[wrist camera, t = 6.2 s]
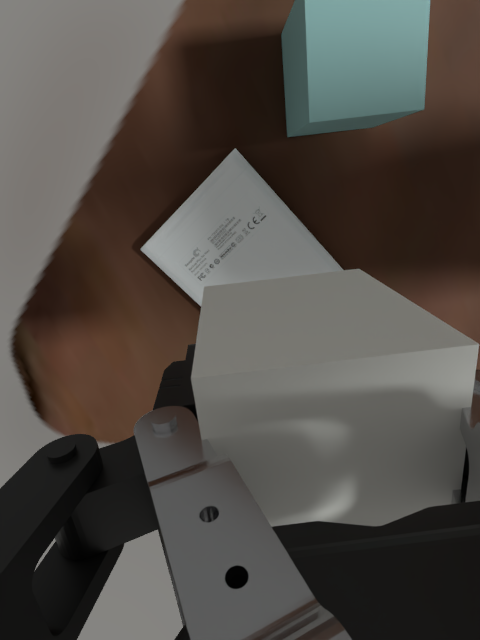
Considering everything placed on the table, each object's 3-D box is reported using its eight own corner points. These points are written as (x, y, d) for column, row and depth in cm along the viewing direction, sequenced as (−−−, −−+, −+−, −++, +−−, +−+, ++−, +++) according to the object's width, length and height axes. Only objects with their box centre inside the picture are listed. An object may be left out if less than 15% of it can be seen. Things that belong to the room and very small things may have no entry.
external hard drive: (273, 367, 28) (143, 245, 24) (361, 291, 26) (234, 148, 23) (276, 378, 26) (138, 250, 23) (369, 298, 25) (236, 146, 21)
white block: (358, 268, 12) (479, 343, 7) (358, 402, 14) (453, 552, 8) (204, 286, 12) (190, 378, 6) (223, 418, 14) (225, 580, 8)
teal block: (373, 24, 20) (432, -36, 15) (372, 127, 22) (424, 109, 16) (281, 34, 20) (303, -22, 15) (287, 137, 22) (309, 122, 16)
